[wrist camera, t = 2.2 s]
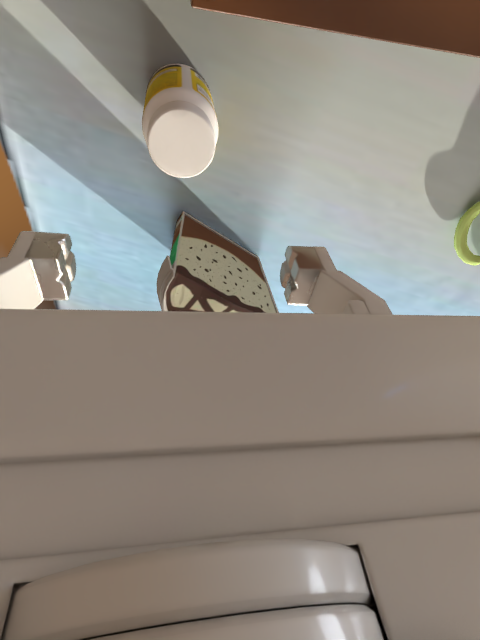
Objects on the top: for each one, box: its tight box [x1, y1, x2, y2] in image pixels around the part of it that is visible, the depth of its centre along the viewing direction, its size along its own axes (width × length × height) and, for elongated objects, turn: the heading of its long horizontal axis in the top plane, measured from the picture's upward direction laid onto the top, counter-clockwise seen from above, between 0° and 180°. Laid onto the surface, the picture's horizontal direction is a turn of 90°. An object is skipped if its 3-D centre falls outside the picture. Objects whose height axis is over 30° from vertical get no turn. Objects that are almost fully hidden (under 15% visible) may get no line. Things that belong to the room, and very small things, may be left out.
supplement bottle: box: [142, 64, 218, 178], centre depth 24 cm, size 5×5×8 cm
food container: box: [157, 211, 279, 313], centre depth 34 cm, size 12×6×10 cm, turn 51°
